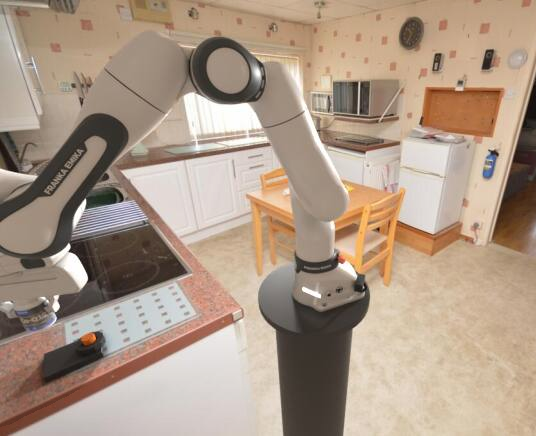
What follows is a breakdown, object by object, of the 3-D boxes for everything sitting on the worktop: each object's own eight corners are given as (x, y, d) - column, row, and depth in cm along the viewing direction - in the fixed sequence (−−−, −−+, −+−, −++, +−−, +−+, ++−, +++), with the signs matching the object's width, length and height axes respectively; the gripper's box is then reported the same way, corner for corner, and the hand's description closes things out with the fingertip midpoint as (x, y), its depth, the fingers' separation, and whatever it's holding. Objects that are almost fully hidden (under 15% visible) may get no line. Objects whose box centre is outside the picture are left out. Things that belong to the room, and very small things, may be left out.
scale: (105, 333, 72) (101, 325, 70) (109, 354, 67) (105, 345, 65) (46, 358, 65) (41, 348, 64) (45, 382, 60) (39, 373, 59)
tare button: (95, 335, 68) (93, 330, 67) (96, 342, 66) (94, 337, 66) (82, 340, 67) (80, 336, 66) (83, 347, 65) (81, 342, 64)
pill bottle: (24, 337, 57) (4, 304, 53) (28, 321, 60) (9, 290, 56) (56, 326, 59) (39, 294, 55) (58, 312, 62) (42, 281, 59)
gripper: (-90, 273, 47) (-44, 334, 53) (60, 257, 52) (87, 315, 58) (-56, 252, 52) (-17, 310, 58) (78, 240, 57) (100, 294, 63)
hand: (35, 313), depth 58 cm, fingers closed on pill bottle, 5 cm apart
